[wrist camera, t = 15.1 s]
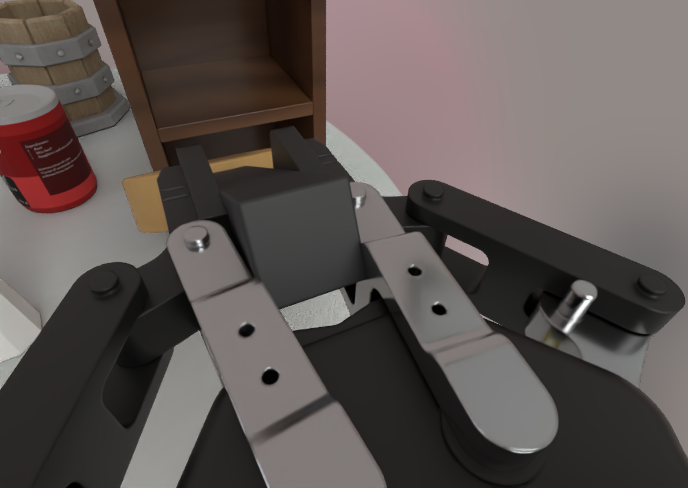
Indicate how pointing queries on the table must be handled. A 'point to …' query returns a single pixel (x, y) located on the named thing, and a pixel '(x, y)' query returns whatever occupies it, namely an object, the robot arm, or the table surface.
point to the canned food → (41, 151)
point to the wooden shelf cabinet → (219, 71)
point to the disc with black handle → (275, 223)
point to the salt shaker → (16, 323)
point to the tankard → (60, 60)
